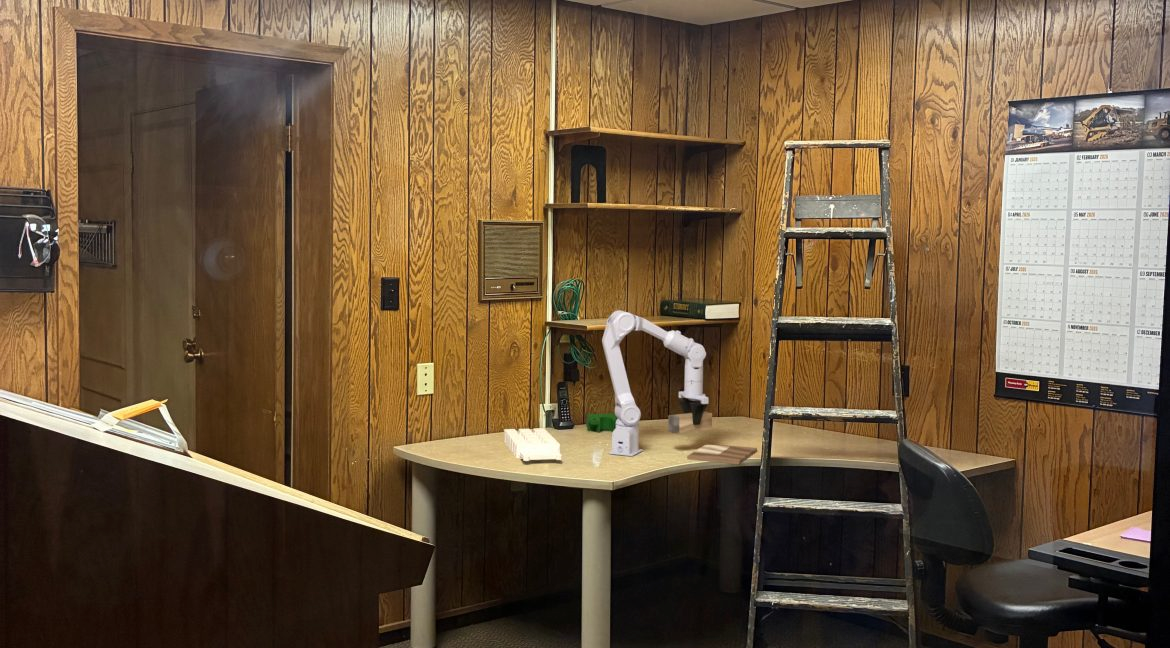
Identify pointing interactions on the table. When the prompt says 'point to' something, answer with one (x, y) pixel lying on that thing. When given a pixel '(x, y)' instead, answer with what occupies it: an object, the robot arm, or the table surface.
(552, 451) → the organizer
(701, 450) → the board
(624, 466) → the table surface
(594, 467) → the table surface
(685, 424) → the tan wooden bar
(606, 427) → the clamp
